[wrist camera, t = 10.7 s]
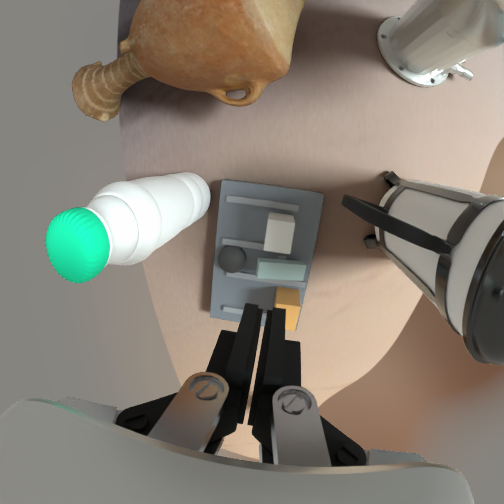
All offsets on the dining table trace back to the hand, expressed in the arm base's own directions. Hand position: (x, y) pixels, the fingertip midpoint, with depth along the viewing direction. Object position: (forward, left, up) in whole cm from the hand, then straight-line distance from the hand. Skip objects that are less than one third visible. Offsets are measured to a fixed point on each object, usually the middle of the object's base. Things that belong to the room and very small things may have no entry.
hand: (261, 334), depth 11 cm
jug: (+14, -22, -28) cm, 38 cm away
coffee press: (-18, -2, -28) cm, 33 cm away
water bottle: (+12, -1, -28) cm, 30 cm away
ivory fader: (-1, +1, -25) cm, 25 cm away
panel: (+1, +6, -27) cm, 28 cm away
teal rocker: (-2, +6, -23) cm, 24 cm away
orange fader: (-3, +11, -25) cm, 27 cm away
